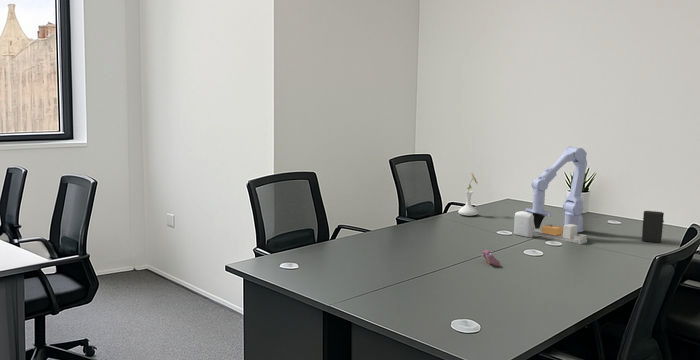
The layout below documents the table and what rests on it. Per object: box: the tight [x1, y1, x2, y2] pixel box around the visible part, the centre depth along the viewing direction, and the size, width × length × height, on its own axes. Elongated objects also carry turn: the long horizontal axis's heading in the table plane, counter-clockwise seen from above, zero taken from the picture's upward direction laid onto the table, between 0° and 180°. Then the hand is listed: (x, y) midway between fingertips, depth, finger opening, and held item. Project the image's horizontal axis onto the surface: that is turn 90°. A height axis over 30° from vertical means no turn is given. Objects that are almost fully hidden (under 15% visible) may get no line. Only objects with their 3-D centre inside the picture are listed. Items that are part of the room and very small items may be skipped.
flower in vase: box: [457, 171, 479, 217], centre depth 398 cm, size 13×11×25 cm
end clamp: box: [541, 224, 563, 236], centre depth 346 cm, size 6×8×4 cm
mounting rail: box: [533, 228, 588, 245], centre depth 344 cm, size 6×29×4 cm, turn 40°
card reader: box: [641, 210, 665, 244], centre depth 338 cm, size 9×4×15 cm, turn 65°
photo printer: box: [513, 210, 535, 238], centre depth 347 cm, size 10×4×12 cm, turn 39°
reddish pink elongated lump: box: [481, 249, 501, 267], centre depth 294 cm, size 10×5×7 cm, turn 6°
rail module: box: [562, 224, 578, 239], centre depth 339 cm, size 6×4×6 cm, turn 130°
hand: (537, 228), depth 353 cm, fingers closed
